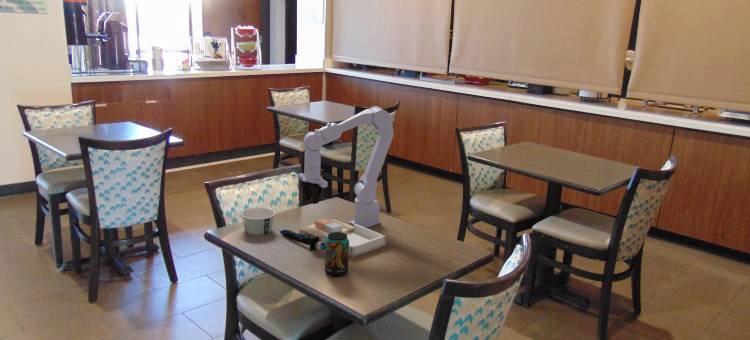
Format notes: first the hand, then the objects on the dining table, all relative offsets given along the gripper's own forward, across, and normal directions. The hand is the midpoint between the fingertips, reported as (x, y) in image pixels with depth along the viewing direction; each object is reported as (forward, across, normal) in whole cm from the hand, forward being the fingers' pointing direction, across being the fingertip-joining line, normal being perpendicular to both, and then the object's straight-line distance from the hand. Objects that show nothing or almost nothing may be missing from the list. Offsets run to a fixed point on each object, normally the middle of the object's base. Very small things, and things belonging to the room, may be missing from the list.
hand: (311, 202), depth 205 cm
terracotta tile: (+7, +7, 0) cm, 10 cm away
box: (+9, +22, 0) cm, 24 cm away
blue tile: (+7, +12, 0) cm, 14 cm away
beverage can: (+10, +35, -19) cm, 41 cm away
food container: (+10, -9, -17) cm, 22 cm away
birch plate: (+9, +9, 0) cm, 13 cm away
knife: (+10, +14, -13) cm, 21 cm away
